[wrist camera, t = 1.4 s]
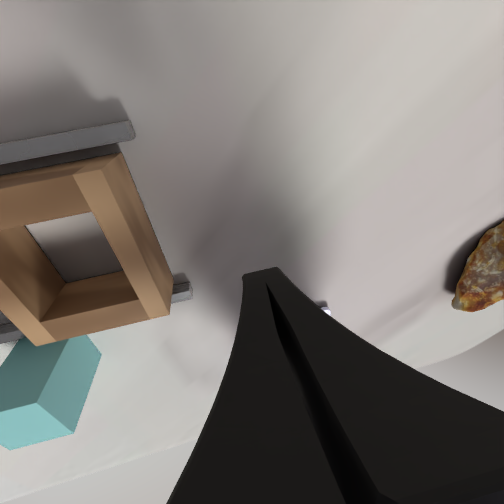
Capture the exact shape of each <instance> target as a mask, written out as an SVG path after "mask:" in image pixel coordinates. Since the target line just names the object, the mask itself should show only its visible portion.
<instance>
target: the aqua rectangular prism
mask: <svg viewBox="0 0 504 504" xmlns="http://www.w3.org/2000/svg"><path fill="white" fill-rule="evenodd" d="M101 355H102V354H101V353H100V352H99V350H98V349H97V348H96V346H95V345H94V344H93V343H92V341H91V340H90V339H89V337H88V336H87V335H82V336H78V337H74V338H69V339H65V340H61V341H57V342H53V343H48V344H44V345H40V346H35V345H34V344H33V343H32V342H31V341H30V340H29V339H28V338H23V339H19V341H18V342H17V344H16V345H15V347H14V348H13V349H12V351H11V352H10V354H9V355H8V357H7V358H6V359H5V361H4V362H3V364H2V365H1V367H0V445H2V446H3V447H5V448H7V449H8V450H13V449H17V448H20V447H24V446H28V445H32V444H36V443H39V442H43V441H47V440H51V439H55V438H58V437H62V436H66V435H70V434H74V431H75V429H76V426H77V423H78V420H79V417H80V415H81V412H82V409H83V406H84V403H85V400H86V398H87V395H88V392H89V389H90V386H91V383H92V381H93V378H94V375H95V372H96V369H97V366H98V364H99V361H100V358H101Z"/></svg>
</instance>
